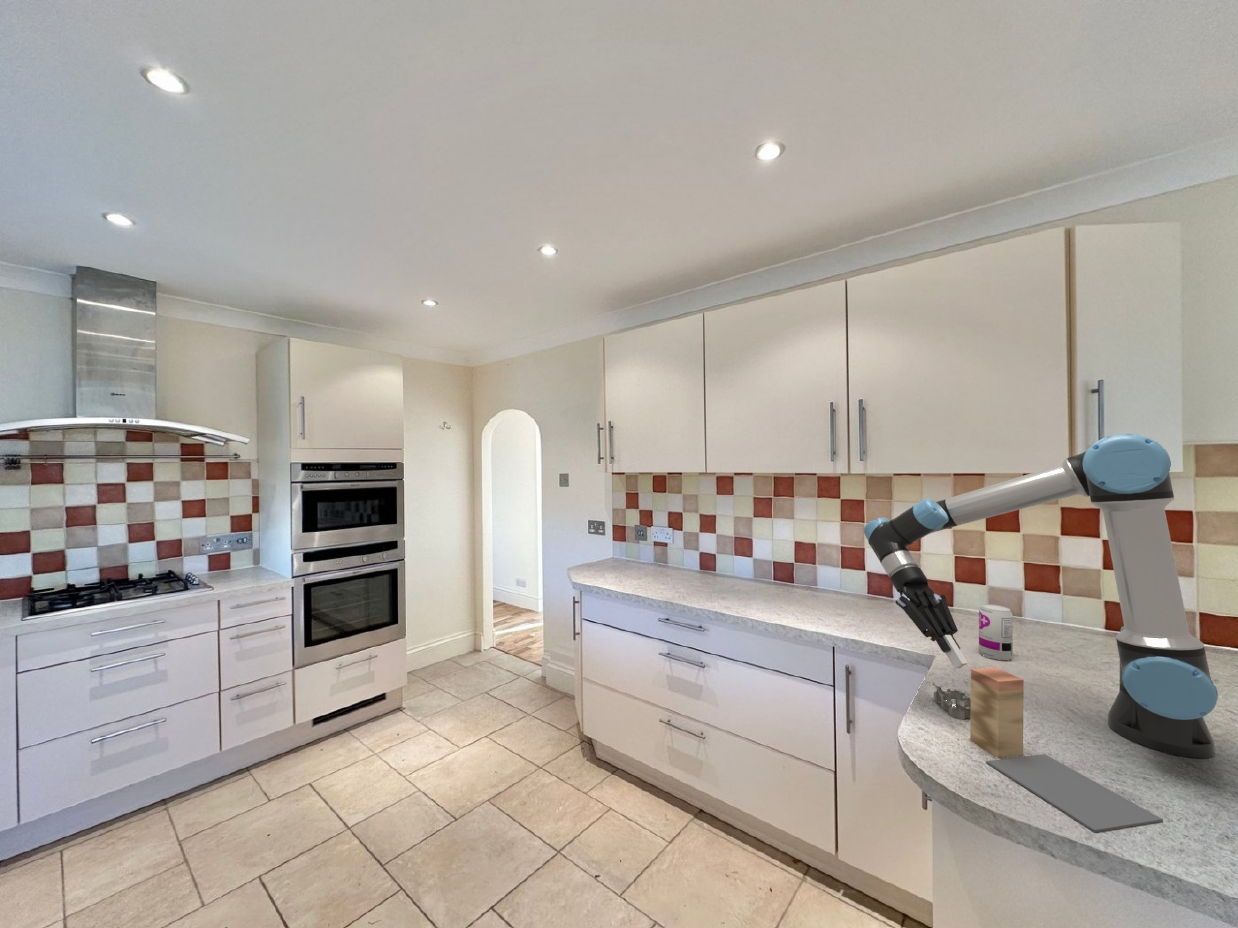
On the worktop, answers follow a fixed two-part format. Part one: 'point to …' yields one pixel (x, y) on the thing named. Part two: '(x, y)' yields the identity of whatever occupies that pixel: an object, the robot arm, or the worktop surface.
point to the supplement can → (995, 632)
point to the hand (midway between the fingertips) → (961, 665)
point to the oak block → (997, 712)
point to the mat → (1074, 793)
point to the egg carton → (961, 700)
